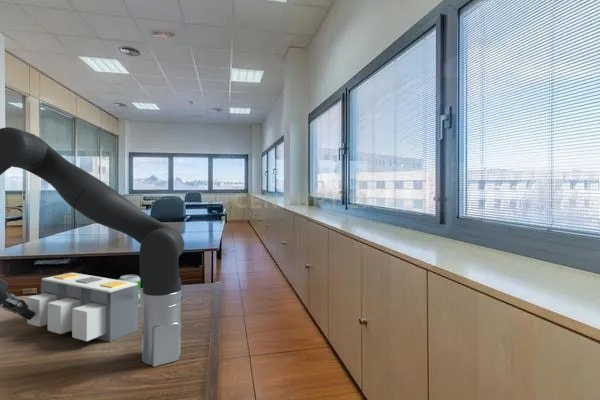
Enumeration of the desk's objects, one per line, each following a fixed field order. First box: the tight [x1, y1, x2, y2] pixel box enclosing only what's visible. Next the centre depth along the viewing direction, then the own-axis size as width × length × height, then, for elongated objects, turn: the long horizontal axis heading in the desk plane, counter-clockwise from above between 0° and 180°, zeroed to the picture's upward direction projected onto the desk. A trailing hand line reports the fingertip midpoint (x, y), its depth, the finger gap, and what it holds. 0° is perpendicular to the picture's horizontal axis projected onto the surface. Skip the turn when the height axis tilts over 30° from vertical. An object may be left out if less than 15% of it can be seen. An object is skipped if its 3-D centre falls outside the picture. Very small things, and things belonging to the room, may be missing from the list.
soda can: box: [117, 274, 141, 308], centre depth 123 cm, size 8×8×12 cm
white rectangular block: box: [26, 293, 58, 327], centre depth 107 cm, size 9×6×8 cm, turn 157°
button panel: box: [40, 272, 139, 343], centre depth 107 cm, size 10×32×15 cm, turn 67°
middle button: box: [47, 297, 81, 335], centre depth 102 cm, size 9×6×8 cm, turn 157°
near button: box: [71, 302, 107, 342], centre depth 97 cm, size 9×6×8 cm, turn 157°
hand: (31, 316), depth 102 cm, fingers closed
